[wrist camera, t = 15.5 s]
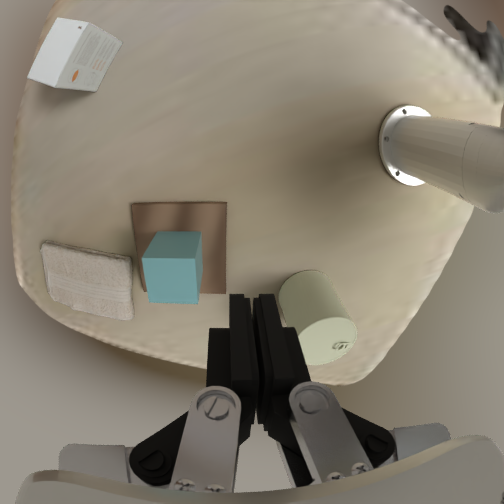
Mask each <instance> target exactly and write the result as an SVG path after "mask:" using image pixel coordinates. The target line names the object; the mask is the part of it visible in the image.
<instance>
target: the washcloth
mask: <svg viewBox="0 0 504 504" xmlns="http://www.w3.org/2000/svg"><path fill="white" fill-rule="evenodd" d="M40 253H41V255H42V259H43V265H44V272H45V279H46V285H47V289H48V294H50V295H51V298H52V299H53V300H54V301H56V302H59V303H62V304H65V305H67V306H69V307H71V309H72V310H79V311H84V312H88V313H91V314H95V315H99V316H105V317H109V318H113V319H118V320H131V319H133V318H134V307H133V305H134V304H133V299H132V297H131V291H132V289H131V287H132V280H133V279H132V271H133V270H132V260H131V258H130V257H128V256H122V255H118V254H113V253H104V252H100V251H97V250H91V249H88V248H87V249H86V248H78V247H74V246H68V245H63V244H61V243H57V242H53V241H50V240H46V242H45V243H43V244H42V248H41V250H40Z"/></svg>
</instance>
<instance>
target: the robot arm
mask: <svg viewBox="0 0 504 504" xmlns="http://www.w3.org/2000/svg"><path fill="white" fill-rule="evenodd" d="M384 137H385V139H384ZM379 151H380V156H381V159H382V162H383V164H384V166H385V168H386V170H387V171H388V173H389V174H390V175H391V176H392V177H393V178H394V179H395V180H397V181H399V182H400V183H403V184H405V185H409V186H418V185H421V184H424V183H425V182H426V183H428V184H431V185H433V186H435V187H437V188H440V189H442V190H444V191H446V192H448V193H450V194H452V195H454V196H456V197H459V198H461V199H463V200H465V201H467V202H468V203H470V204H472V205H474V206H477V207H478V208H480V209H482V210H484V211H486V212H490V213H501V212H504V128H500V127H496V126H491V125H485V124H480V123H475V122H469V121H462V120H455V119H447V118H439V117H432V116H431V115H430V114H429V113H428V112H427V111H425V110H424V109H422V108H420V107H418V106H413V105H404V106H400V107H397V108H395V109H394V110H392V111H391V112H390V113H389V114H388V115H387V117H386V118H385V120H384V122H383V124H382V126H381V130H380V134H379ZM206 381H207V382H206V388H204V389H202V390H200V391H198V392H197V393H196V394H195V395H194V397H193V399H192V401H191V405H190V409H189V411H187V412H186V413H185V414H183V415H182V416H180V417H179V418H177V419H176V420H175V421H173V422H172V423H170V424H169V425H167V426H166V427H165V428H163V429H161V430H160V431H158V432H157V433H155V434H154V435H152V436H150V437H149V438H147V439H146V440H144V441H142V442H141V443H139V444H138V445H137V446H136V447H125V446H124V445H87V444H68V445H67V446H65V447H63V449H62V450H61V451H60V455H59V470H44V471H38V472H35V473H32V474H30V475H29V476H28V477H27V478H26V479H25V480H24V482H23V483H22V485H21V487H20V490H19V492H18V495H17V498H16V502H15V504H504V455H503V453H502V451H501V450H500V448H499V447H498V445H497V444H496V443H495V442H494V441H493V440H492V439H491V438H488V437H486V436H481V435H467V436H462V437H457V438H454V439H451V437H450V433H449V431H448V429H447V428H446V427H445V426H444V425H442V424H440V423H431V424H424V425H417V426H409V427H400V428H394V429H393V430H390V431H388V430H386V429H384V428H383V427H380V426H378V425H376V424H374V423H372V422H369V421H368V420H365V419H363V418H361V417H359V416H357V415H355V414H353V413H351V412H349V411H347V410H345V409H343V408H341V406H340V404H339V402H338V401H337V399H336V397H335V395H334V393H333V392H332V391H331V389H329V388H328V387H327V386H325V385H324V384H321V383H319V382H312V381H311V379H310V375H309V372H308V368H307V365H306V362H305V358H304V355H303V351H302V348H301V345H300V341H299V338H298V335H297V331H296V329H295V327H282V324H281V320H280V316H279V312H278V308H277V304H276V300H275V296H274V294H259V298H254V300H253V314H252V313H251V305H250V298H244V294H230V302H229V328H210V329H209V341H208V359H207V380H206ZM255 411H256V412H257V420H258V424H263V425H264V431H268V435H269V436H270V437H272V438H273V439H274V440H276V443H277V447H278V450H279V453H280V455H281V458H282V461H283V464H284V467H285V469H286V472H287V475H288V478H289V481H290V483H291V486H292V488H291V489H283V490H274V491H263V492H244V493H234V488H235V480H236V472H237V463H238V455H239V446H240V445H241V444H242V443H243V442H244V441H245V440H246V439H248V437H250V429H251V424H254V418H255Z"/></svg>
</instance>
